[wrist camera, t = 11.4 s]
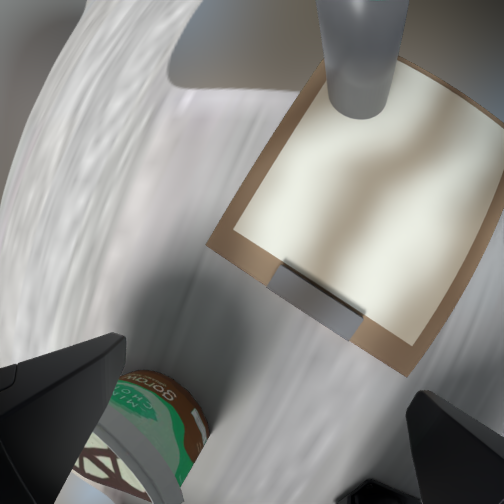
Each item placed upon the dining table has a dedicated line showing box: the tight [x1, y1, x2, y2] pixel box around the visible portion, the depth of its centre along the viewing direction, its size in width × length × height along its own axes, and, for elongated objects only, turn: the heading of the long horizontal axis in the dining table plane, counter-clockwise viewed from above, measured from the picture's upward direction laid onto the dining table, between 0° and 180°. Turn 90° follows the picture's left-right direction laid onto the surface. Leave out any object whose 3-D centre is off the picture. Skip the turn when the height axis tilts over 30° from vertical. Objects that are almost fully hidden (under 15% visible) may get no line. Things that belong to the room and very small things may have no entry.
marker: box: [316, 0, 409, 120], centre depth 12 cm, size 4×4×13 cm
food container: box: [72, 370, 210, 504], centre depth 18 cm, size 12×6×10 cm, turn 90°
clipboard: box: [206, 56, 504, 377], centre depth 18 cm, size 16×19×1 cm
